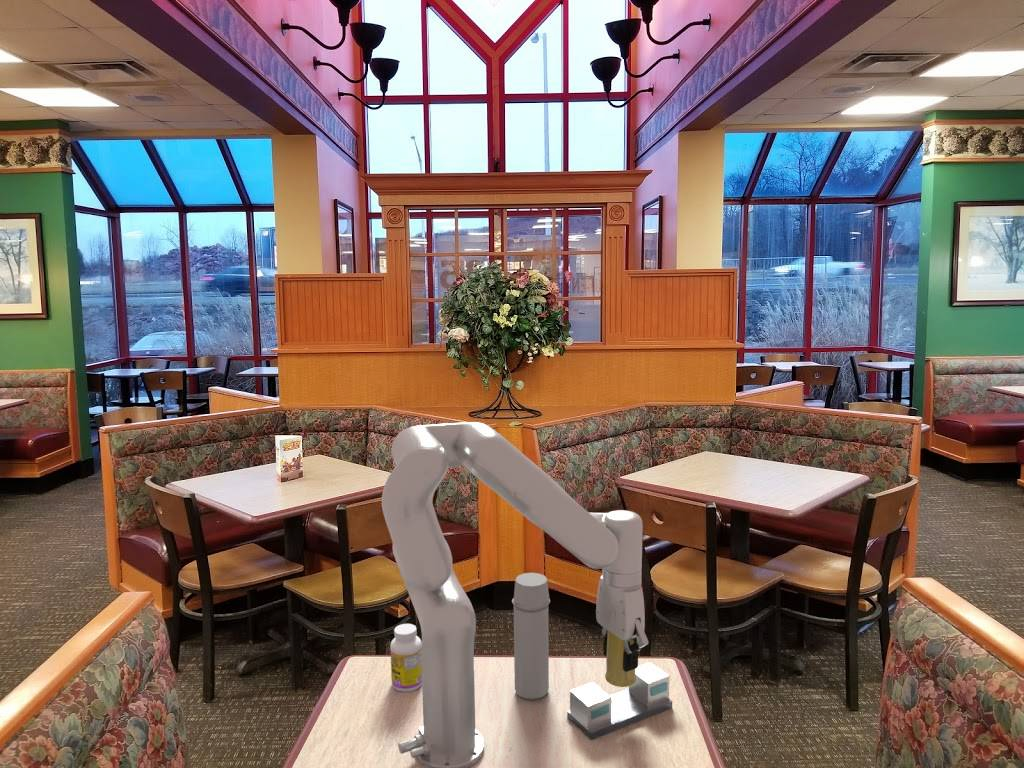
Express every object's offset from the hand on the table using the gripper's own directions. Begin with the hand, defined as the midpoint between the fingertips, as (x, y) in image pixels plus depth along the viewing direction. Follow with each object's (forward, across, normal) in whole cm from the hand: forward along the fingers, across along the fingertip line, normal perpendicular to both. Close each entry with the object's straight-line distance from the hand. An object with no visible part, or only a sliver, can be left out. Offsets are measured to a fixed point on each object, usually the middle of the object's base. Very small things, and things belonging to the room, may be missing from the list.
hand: (620, 660), depth 144 cm
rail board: (+11, 0, 0) cm, 11 cm away
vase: (+4, 0, 0) cm, 4 cm away
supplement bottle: (+11, -31, -33) cm, 47 cm away
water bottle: (+11, -16, -11) cm, 23 cm away
